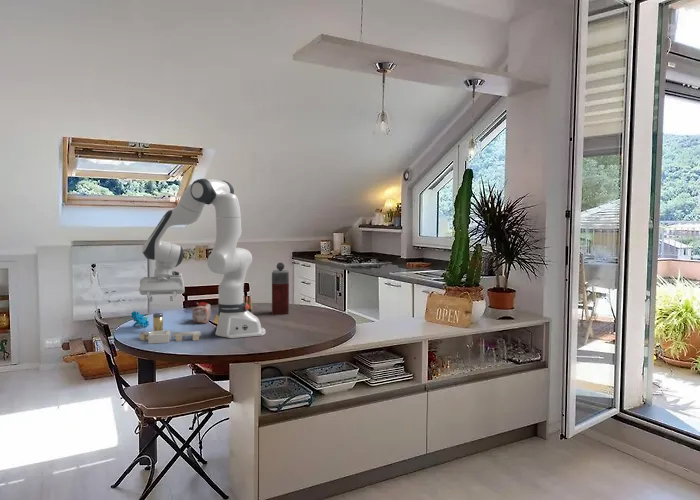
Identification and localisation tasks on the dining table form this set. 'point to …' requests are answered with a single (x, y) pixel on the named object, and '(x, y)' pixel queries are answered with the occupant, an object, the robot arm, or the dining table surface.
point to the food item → (201, 313)
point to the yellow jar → (158, 322)
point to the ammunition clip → (248, 303)
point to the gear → (139, 319)
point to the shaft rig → (166, 336)
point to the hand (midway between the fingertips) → (161, 300)
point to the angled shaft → (144, 335)
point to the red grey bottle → (280, 290)
